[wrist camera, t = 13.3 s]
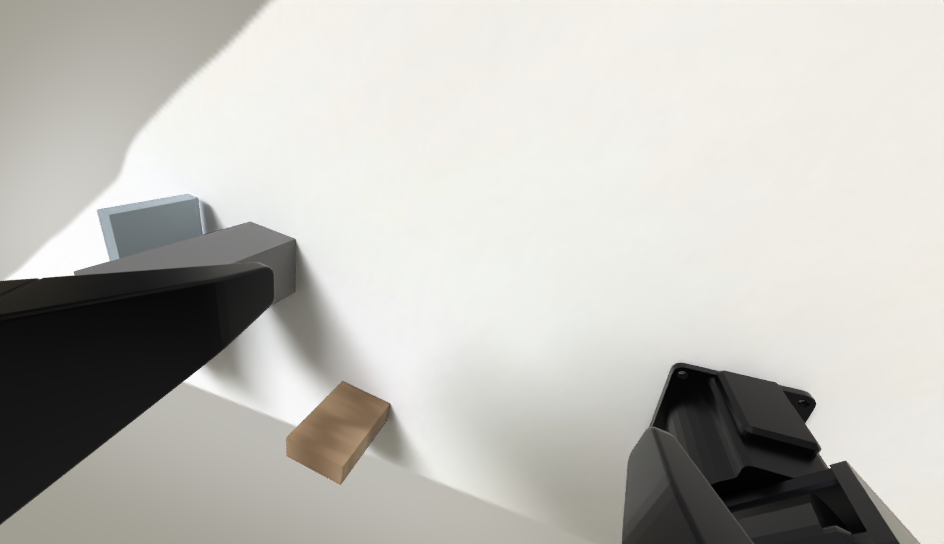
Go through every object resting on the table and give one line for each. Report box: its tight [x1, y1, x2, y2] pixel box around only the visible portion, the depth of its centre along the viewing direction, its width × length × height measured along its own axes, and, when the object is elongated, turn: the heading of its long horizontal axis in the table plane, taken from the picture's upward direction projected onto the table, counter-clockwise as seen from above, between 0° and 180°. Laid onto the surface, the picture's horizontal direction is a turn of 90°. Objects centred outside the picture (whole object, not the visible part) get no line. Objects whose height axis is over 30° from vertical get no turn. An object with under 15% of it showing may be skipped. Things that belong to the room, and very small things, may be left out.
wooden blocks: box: [286, 381, 390, 485], centre depth 29 cm, size 23×2×6 cm, turn 76°
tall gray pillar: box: [74, 222, 295, 305], centre depth 22 cm, size 4×4×10 cm
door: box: [97, 194, 202, 261], centre depth 27 cm, size 14×3×6 cm, turn 166°
